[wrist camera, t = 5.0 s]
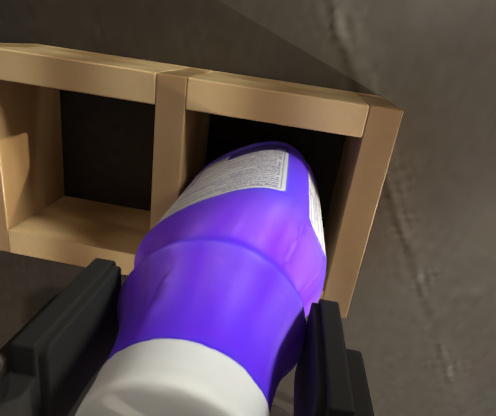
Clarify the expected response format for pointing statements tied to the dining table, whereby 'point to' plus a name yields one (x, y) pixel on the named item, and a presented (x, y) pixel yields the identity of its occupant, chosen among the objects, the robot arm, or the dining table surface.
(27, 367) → the robot arm
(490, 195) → the dining table surface
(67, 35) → the dining table surface
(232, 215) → the bottle
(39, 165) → the rack
